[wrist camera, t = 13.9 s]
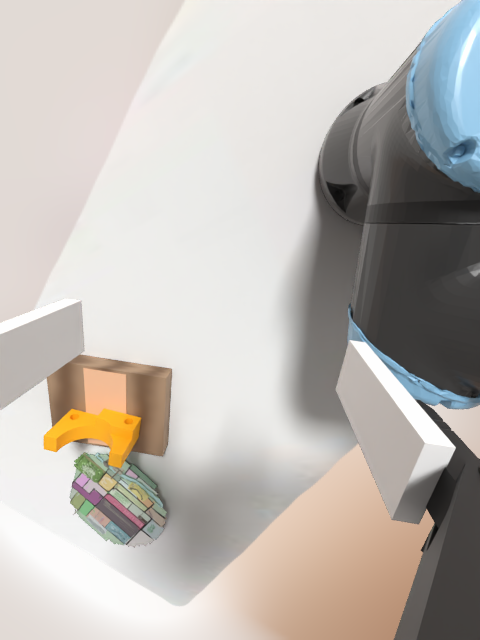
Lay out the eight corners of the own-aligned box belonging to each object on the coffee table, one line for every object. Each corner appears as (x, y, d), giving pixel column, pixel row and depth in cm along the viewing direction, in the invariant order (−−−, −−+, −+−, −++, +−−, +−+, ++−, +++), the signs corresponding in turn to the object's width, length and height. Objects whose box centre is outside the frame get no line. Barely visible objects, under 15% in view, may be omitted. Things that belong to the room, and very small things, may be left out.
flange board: (172, 368, 47) (165, 378, 44) (168, 443, 53) (162, 457, 50) (57, 351, 48) (43, 359, 45) (64, 426, 53) (52, 439, 50)
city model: (76, 422, 56) (51, 444, 50) (185, 467, 54) (171, 495, 48) (68, 505, 65) (45, 532, 59) (161, 547, 62) (147, 579, 57)
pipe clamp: (141, 417, 47) (123, 446, 41) (138, 437, 49) (120, 468, 43) (72, 400, 47) (43, 426, 41) (71, 420, 49) (43, 449, 43)
